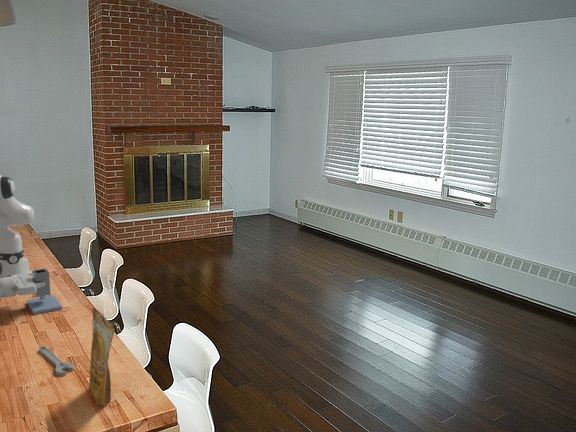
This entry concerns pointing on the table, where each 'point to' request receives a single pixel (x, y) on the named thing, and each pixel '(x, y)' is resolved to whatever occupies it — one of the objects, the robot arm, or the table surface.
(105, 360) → the pancake mix bag
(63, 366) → the adjustable wrench
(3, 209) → the robot arm
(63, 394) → the table surface
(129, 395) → the table surface
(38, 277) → the steel collar
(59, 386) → the table surface
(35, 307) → the shaft base
